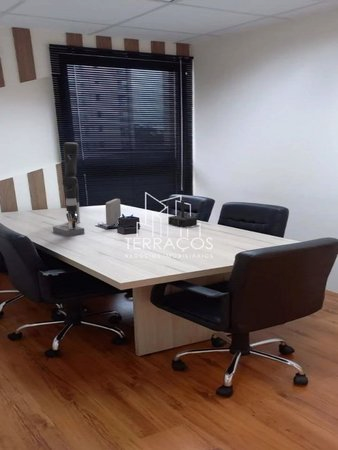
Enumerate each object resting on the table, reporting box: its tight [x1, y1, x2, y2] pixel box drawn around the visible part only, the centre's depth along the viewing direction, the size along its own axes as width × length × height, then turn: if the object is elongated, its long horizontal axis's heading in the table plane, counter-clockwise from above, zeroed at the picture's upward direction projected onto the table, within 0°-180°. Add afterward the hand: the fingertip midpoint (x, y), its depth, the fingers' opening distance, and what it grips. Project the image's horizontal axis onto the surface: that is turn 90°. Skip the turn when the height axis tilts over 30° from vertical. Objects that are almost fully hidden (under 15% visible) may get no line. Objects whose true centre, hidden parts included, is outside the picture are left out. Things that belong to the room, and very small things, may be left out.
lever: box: [67, 219, 78, 229], centre depth 310 cm, size 3×5×6 cm, turn 132°
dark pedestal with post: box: [167, 199, 198, 228], centre depth 341 cm, size 19×17×20 cm
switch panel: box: [52, 224, 85, 237], centre depth 316 cm, size 22×14×4 cm, turn 42°
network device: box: [105, 198, 122, 226], centre depth 343 cm, size 26×9×20 cm, turn 168°
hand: (72, 227), depth 310 cm, fingers closed on lever, 3 cm apart
